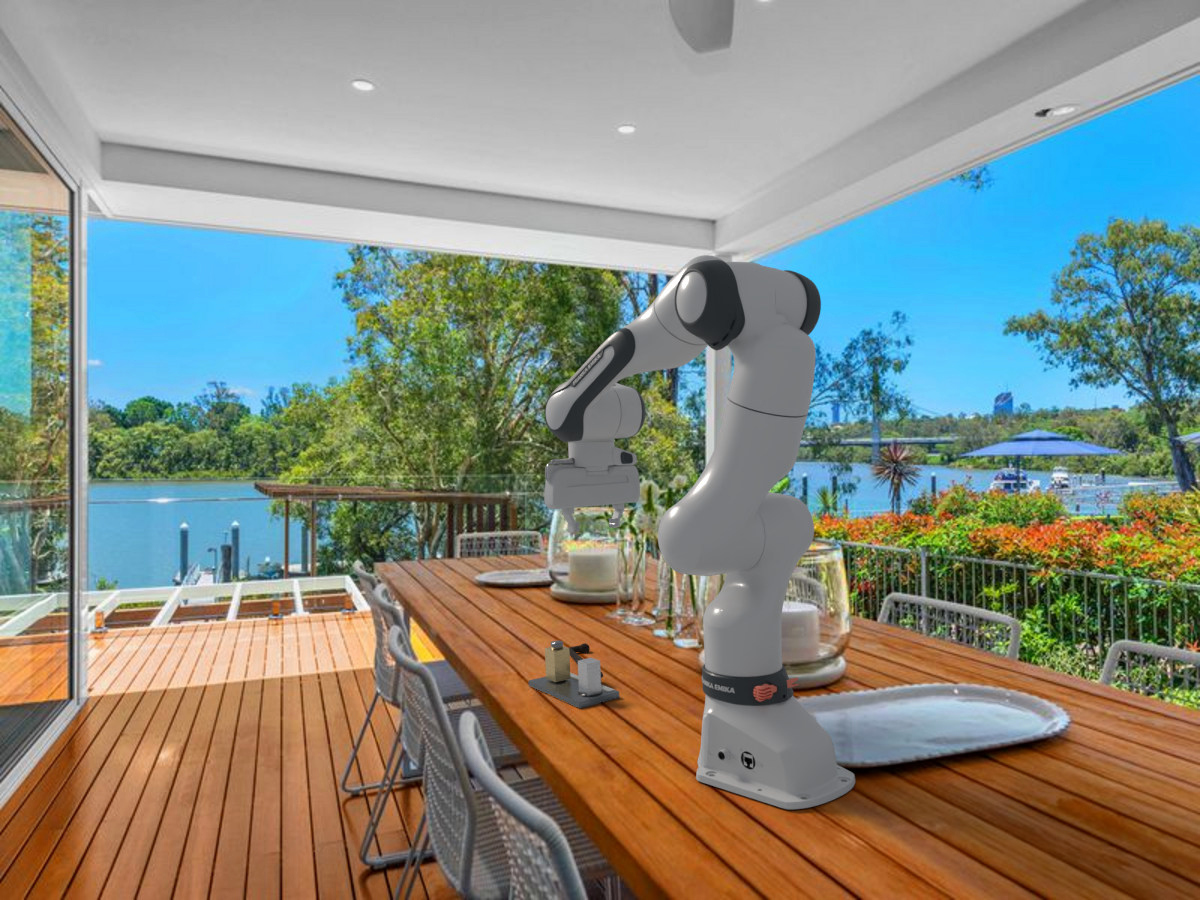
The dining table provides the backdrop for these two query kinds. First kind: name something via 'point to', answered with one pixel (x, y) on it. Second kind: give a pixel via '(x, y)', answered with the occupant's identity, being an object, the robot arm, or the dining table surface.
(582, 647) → the wrench
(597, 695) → the bolt plate
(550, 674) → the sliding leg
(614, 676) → the dining table surface
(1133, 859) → the dining table surface
